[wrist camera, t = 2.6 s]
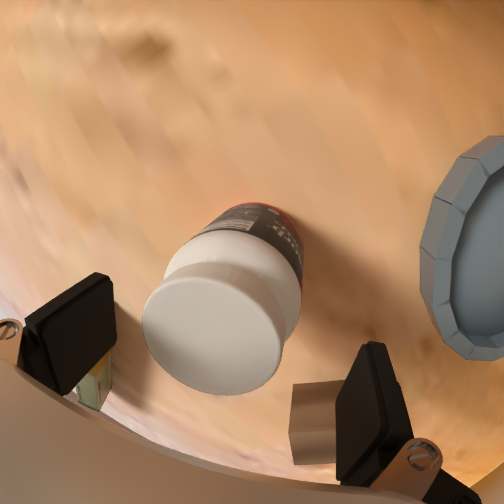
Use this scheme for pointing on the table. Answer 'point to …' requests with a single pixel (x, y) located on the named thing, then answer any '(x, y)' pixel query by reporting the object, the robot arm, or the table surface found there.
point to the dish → (468, 254)
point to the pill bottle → (228, 301)
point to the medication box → (96, 384)
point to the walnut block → (314, 422)
